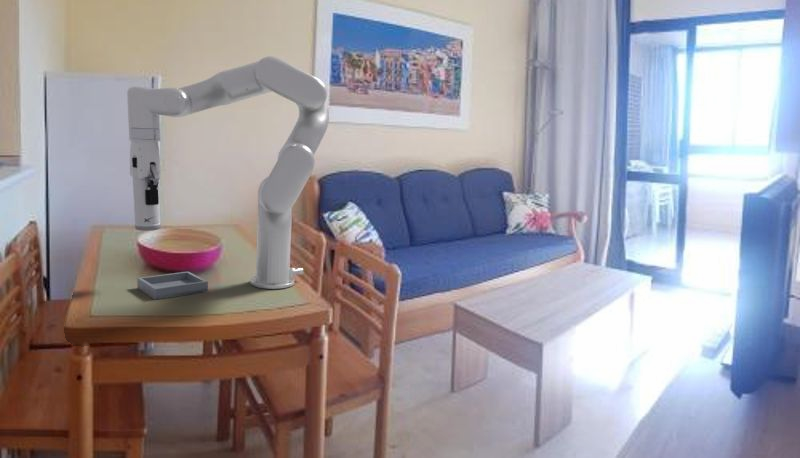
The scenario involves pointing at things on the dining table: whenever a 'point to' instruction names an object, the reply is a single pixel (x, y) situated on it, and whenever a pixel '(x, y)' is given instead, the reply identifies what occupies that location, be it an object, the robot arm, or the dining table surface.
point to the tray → (172, 285)
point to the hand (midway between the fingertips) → (147, 202)
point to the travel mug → (144, 204)
